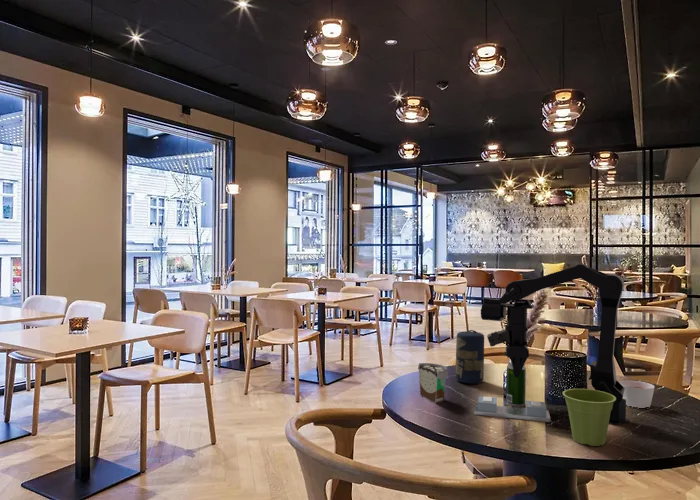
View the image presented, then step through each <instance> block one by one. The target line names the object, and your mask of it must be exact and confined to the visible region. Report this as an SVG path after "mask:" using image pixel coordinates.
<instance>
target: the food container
mask: <svg viewBox="0 0 700 500" xmlns="http://www.w3.org/2000/svg"><path fill="white" fill-rule="evenodd" d="M417 370H418V374H419V376H418V379H419V380H418V381H419V396H420V395H421V396H423V397H424V398H423V397H422V398H423V399H425V398H426V399H425V400H427V399H428V400H427V401H429V402H430V401H431V402H430V403H432V402H433V403H432V404H434V403H435V404H434V405H440V404H443V403H444V402H443V401H445V392H446V380H447V378H448V377H449V370H448V369H447V367H446V366H444V365H442V364H438V363H432V362H431V363H430V362H422V363H421V362H420V363H418V368H417ZM421 396H420V397H421ZM439 403H440V404H439Z"/></svg>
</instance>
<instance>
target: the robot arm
mask: <svg viewBox="0 0 700 500" xmlns="http://www.w3.org/2000/svg"><path fill="white" fill-rule="evenodd" d="M578 279H581V280H583V281H585V282H587V283H588V284H590V285H591V286H594V287H595V288H598V290H599V298H600V304H601V318H600V327H599V328H600V330H599V331H600V332H599V341H598V354H597V356H598V357H597V360H596V361H595V360H592V361H591V362H590V365H589V371H590V375H589V378H588V380H589V381H590V380H591V381H590V383H591V387H592V388H593V390H598V391H603V392H606V393H609V394H612V395H613V396H615V397H616V401H615V402H613V407H612V410H611V413H610V419H609V424H611V425H614V426H617V425H621V424H624V423H629V422H630V419H628V418H627V406H626V399H623V394H624V391H625V388H624V387H623V386H622V385H621V384H620V381H619V380H617V373H616V372H617V371H616V364H615V360H614V355H615V353H614V352H615V342H616V330H617V319H618V317H617V316H618V308H619V304H620V303H621V302H620V301H621V298H622V295H623V291H624V288H625V282H624V279H623V278H622V277H621V276H619V275H618V274H615V273H613V274H612V273H611V274H608V273H607V274H606V273H605V272H602V271H600V270H597V269H595V268H593V267H590V266H588V265H586V264H585V263H578V264H576V265H574V266H571V267H569V268H565V269H562V270H559V271H555V272H552V273H549V274H544V275H542V276H540V277H539V276H538V277H535V278H533V277H532V278H528V279H527V278H526V279H518V280H514V281H511V282H509V283H507V285H506V287H505V292H504V294H503V295H502V296H501V297H500V298H490V297H483V300H482V301H483V302H482V305H481V308H480V317H481V320H483V321H493V322H502V321H503V319H506V325H505V329H502V330H498V331H496V330H495V331H494V332H491V333H488V334H487V336H486V337H487V340H488V343H489V345H490V347H495V346H496V345H501V344H503V343H505V356H506V357H507V358H508V359H509V360H510V361H511V362H512V366H513V371H514V377H519V375H520V373H521V370H522V368H523V366H524V364H525V365H526V362H527V359H528V358H530V350H529V347H528V309H529V310H532V309H534V308H536V307H535V305H534V304H532V302H531V300H530V299H527V300H526V301H523V302H522V301H521V300H523V299H525V298H527V297H530V296H531V295H534V294H535V293H537V292H539V291H542V290H544V289H548V288H551V287H555V286H558V285H561V284H565V283H568V282H571V281H575V280H578ZM536 291H537V292H536ZM510 302H514V303H513V304H508V303H510ZM531 304H532V305H531Z"/></svg>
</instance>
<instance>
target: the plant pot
mask: <svg viewBox="0 0 700 500" xmlns="http://www.w3.org/2000/svg"><path fill="white" fill-rule="evenodd" d="M562 395H563V397H564V399H565V404H566V406H567V412H568V418H569V422H570V423H569V424H570V429H571V437H572V439H573V440H574V441H575V442H577V443H578V444H581V445H589V446H591V447H598V446H599V447H600V445H601V446H603V445H605V443H606V440H607V436H608V431H609V424H610V423H609V419H610V413H611V410H612V407H613V402H615V401H616V397H615V396H613V395H612V394H609V393H606V392H603V391H598V390H595V389H592V388H591V389H589V388H571V389H565V390H564V391H562Z"/></svg>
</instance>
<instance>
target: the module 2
mask: <svg viewBox="0 0 700 500" xmlns="http://www.w3.org/2000/svg"><path fill="white" fill-rule="evenodd" d="M525 408H526V413H527V416H537V417H546V410H547V406H546V402H545V401H535V400H528V399H527V400H526V399H525Z"/></svg>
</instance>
